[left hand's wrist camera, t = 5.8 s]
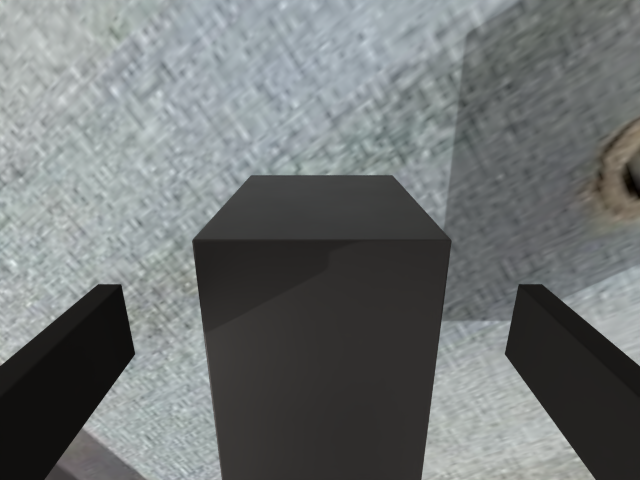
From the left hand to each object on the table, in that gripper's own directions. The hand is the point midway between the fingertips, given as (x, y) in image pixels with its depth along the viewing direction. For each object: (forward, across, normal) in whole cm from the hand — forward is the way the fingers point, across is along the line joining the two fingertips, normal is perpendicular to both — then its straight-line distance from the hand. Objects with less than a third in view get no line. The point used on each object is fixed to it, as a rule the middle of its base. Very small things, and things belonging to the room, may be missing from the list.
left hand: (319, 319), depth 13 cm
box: (+8, 0, -8) cm, 11 cm away
